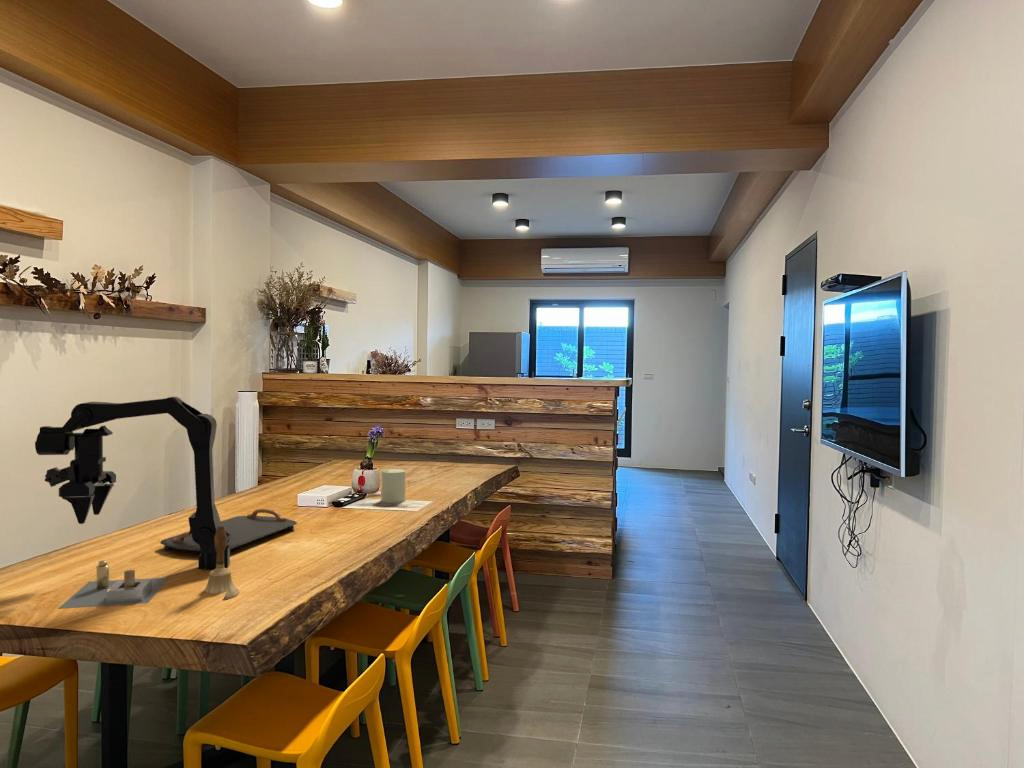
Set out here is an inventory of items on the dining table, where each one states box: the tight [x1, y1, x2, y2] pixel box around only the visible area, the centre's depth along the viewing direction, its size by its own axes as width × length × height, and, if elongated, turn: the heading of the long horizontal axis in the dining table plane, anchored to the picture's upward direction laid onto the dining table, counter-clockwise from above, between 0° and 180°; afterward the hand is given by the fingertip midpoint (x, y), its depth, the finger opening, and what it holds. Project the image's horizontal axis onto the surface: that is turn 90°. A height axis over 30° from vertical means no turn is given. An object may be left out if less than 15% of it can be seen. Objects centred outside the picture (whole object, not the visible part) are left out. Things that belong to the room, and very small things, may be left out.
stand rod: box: [123, 569, 136, 588], centre depth 146 cm, size 2×2×6 cm
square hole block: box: [106, 578, 152, 603], centre depth 146 cm, size 7×7×2 cm
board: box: [57, 576, 169, 610], centre depth 149 cm, size 17×17×2 cm
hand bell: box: [204, 525, 240, 601], centre depth 152 cm, size 8×8×16 cm
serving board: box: [160, 508, 298, 552], centre depth 199 cm, size 39×23×6 cm, turn 163°
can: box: [380, 468, 407, 504], centre depth 256 cm, size 9×9×12 cm
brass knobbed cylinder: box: [96, 560, 110, 590], centre depth 151 cm, size 2×2×6 cm
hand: (89, 519), depth 160 cm, fingers open, 9 cm apart
